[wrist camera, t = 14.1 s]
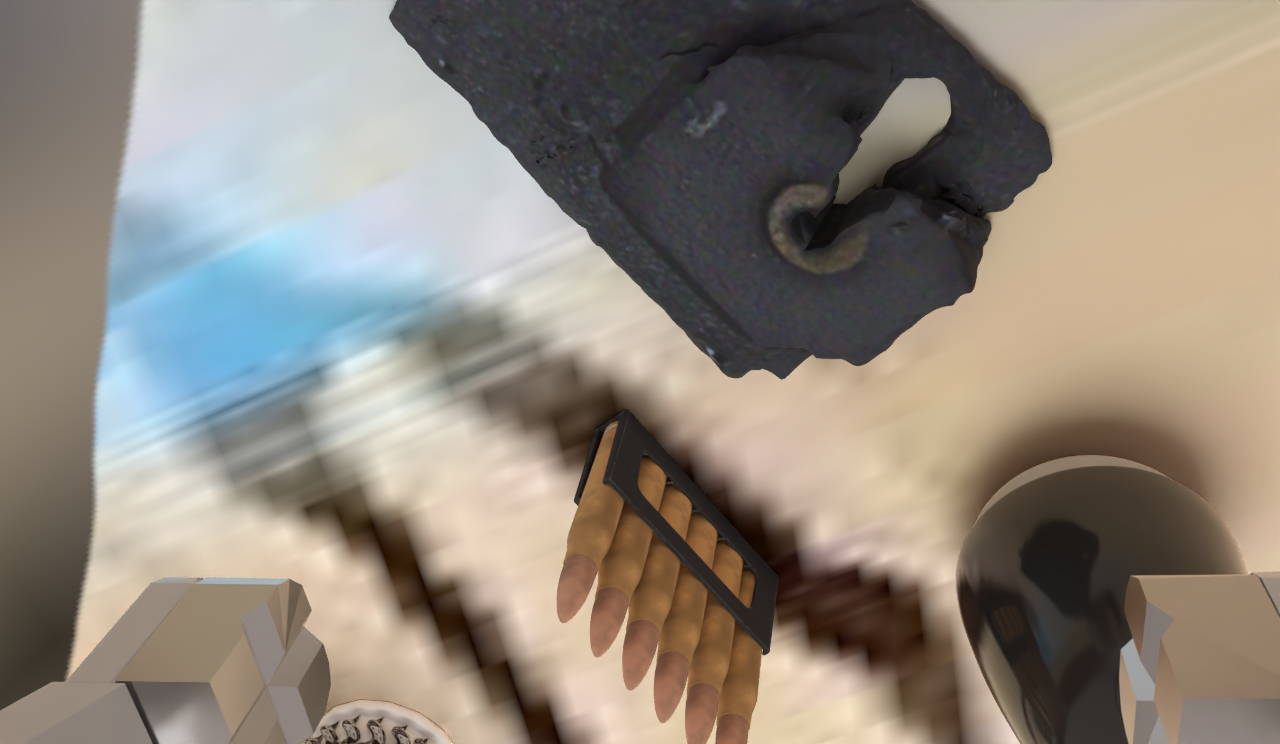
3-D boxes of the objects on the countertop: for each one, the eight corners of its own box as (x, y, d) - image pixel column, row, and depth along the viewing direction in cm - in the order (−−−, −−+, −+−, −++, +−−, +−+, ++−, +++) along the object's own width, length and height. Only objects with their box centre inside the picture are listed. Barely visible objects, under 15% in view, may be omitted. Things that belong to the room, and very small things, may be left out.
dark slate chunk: (655, -345, 34) (629, -362, 30) (1082, 170, 39) (1110, 217, 35) (361, 7, 41) (306, 33, 37) (760, 408, 46) (752, 470, 42)
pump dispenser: (1227, 408, 42) (1404, 696, 29) (1192, 621, 47) (1331, 952, 34) (951, 411, 44) (998, 683, 31) (944, 615, 49) (983, 926, 36)
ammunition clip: (594, 429, 47) (523, 614, 37) (626, 407, 46) (564, 590, 36) (746, 595, 50) (722, 811, 40) (780, 578, 49) (763, 793, 39)
